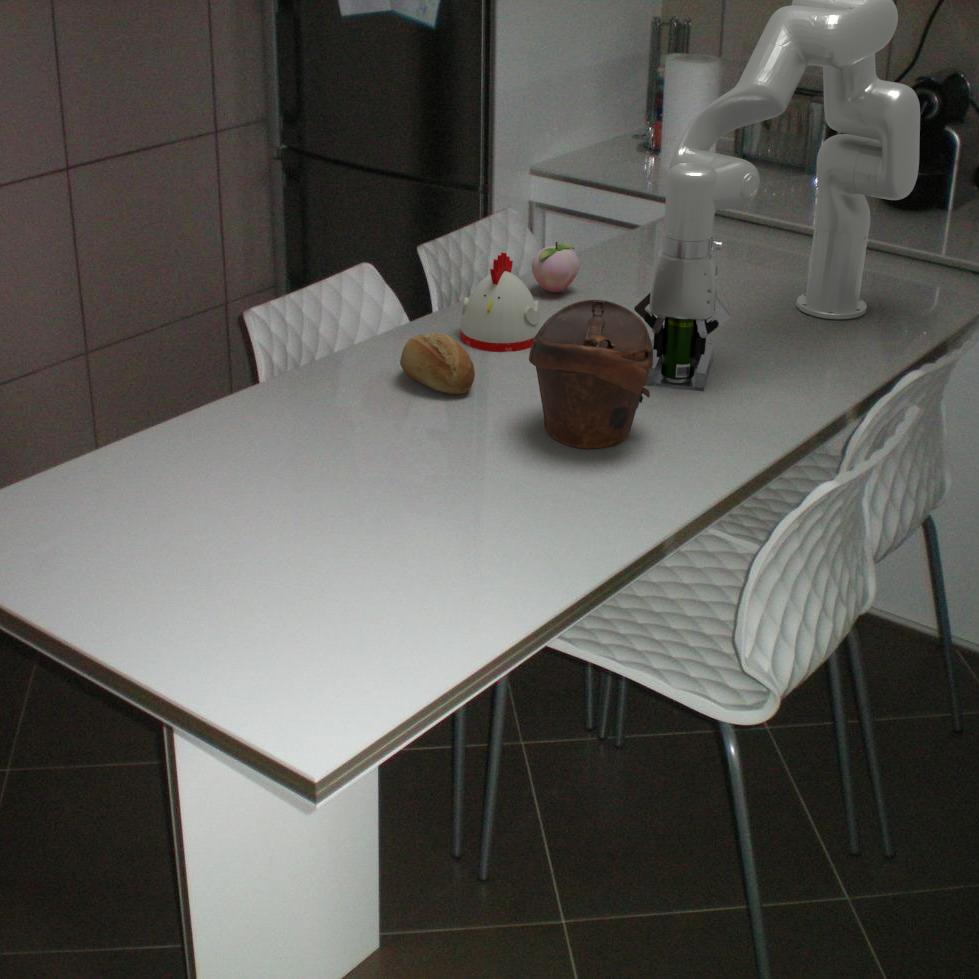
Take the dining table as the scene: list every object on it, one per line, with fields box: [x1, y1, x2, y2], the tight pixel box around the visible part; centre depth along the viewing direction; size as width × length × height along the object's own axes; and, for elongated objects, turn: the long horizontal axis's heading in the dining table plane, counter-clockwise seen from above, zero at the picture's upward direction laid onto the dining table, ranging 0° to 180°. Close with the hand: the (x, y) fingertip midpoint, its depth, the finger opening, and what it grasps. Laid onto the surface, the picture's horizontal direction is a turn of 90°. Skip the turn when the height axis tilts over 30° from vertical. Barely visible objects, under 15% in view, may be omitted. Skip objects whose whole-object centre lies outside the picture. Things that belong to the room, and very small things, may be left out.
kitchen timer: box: [460, 252, 542, 353], centre depth 235 cm, size 14×14×15 cm
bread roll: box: [399, 333, 476, 395], centre depth 218 cm, size 10×15×8 cm, turn 39°
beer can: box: [661, 316, 699, 383], centre depth 219 cm, size 5×5×12 cm
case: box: [528, 299, 653, 450], centre depth 201 cm, size 18×20×18 cm
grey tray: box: [646, 343, 715, 392], centre depth 225 cm, size 13×10×3 cm
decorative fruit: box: [531, 241, 581, 294], centre depth 257 cm, size 9×8×10 cm
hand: (678, 354), depth 219 cm, fingers closed on beer can, 5 cm apart
